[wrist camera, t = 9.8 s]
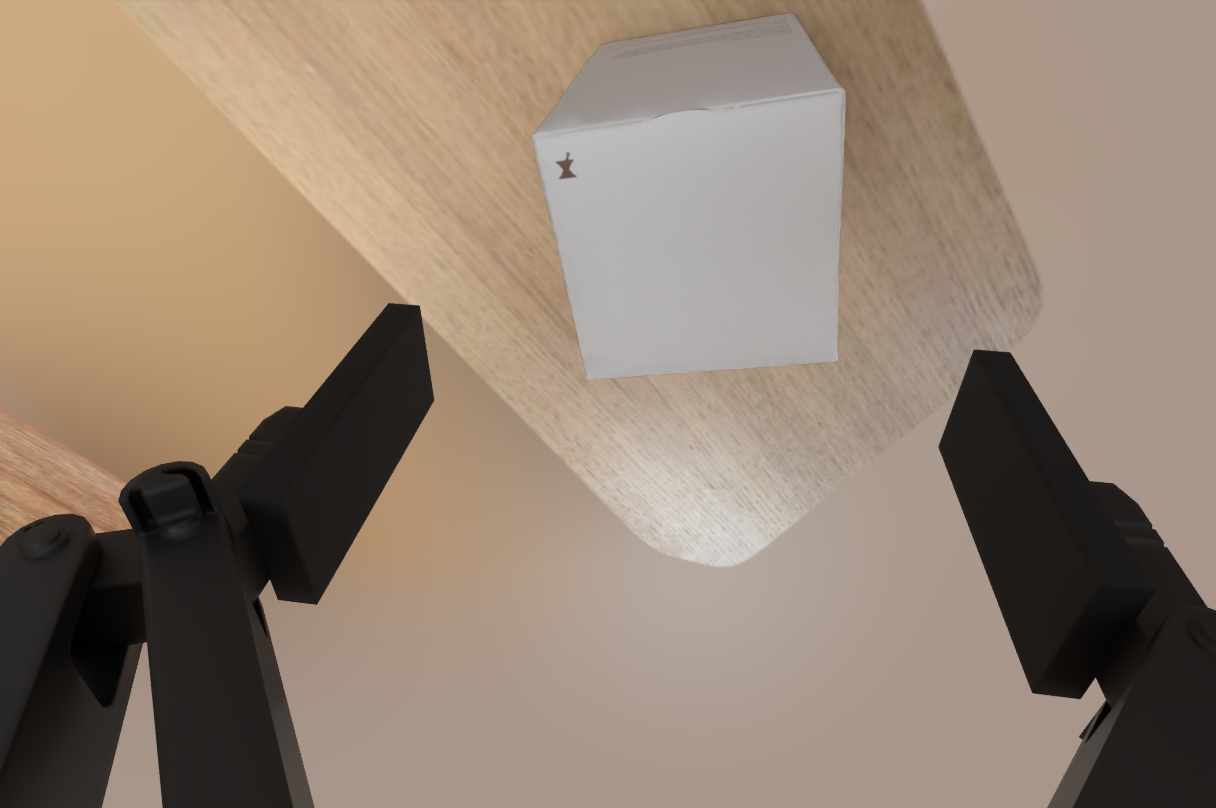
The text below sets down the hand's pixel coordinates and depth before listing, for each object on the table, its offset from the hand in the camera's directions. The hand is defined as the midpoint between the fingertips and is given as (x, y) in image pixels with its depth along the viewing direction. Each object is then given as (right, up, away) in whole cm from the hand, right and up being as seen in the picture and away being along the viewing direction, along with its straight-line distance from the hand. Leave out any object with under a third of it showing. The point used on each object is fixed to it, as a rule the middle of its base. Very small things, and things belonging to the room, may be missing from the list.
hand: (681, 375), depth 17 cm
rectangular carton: (+3, +12, +17) cm, 22 cm away
